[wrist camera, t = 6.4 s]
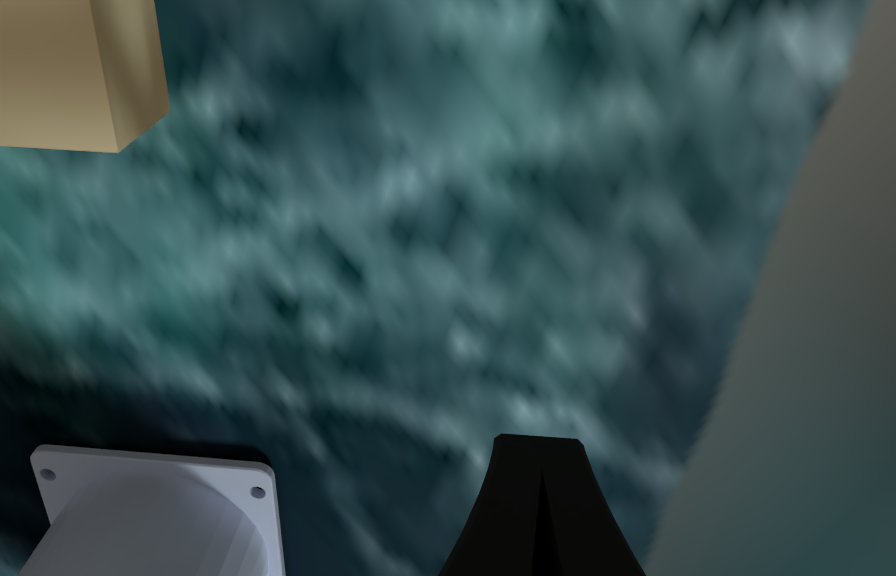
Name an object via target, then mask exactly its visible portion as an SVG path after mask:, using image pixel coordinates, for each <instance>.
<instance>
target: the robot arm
mask: <svg viewBox="0 0 896 576" xmlns="http://www.w3.org/2000/svg"><path fill="white" fill-rule="evenodd" d="M30 460H31V464H32V467H33V471H34V474H35V477H36V480H37V483H38V486H39V490H40V493H41V496H42V499H43V502H44V506H45V509H46V512H47V515H48V518H49V521H50V525H51V526H50V528H49V529H48V531H47V532H46V534H45V535H44V537H43V538H42V540H41V541H40V543H39V544H38V546H37V547H36V549H35V550H34V551H33V553H32V554H31V556H30V557H29V559H28V560H27V562H26V563H25V565H24V566H23V568H22V569H21V571H20V572H19V574H18V575H17V576H286V575H285V566H284V557H283V548H282V538H281V529H280V520H279V511H278V502H277V492H276V483H275V475H274V472H273V470H272V469H271V468H270V467H269V466H268V465H266V464H264V463H260V462H252V461H240V460H228V459H216V458H204V457H192V456H180V455H168V454H155V453H143V452H131V451H119V450H107V449H95V448H83V447H71V446H59V445H40V446H38V447H37V448H36V449H35V451H34V452H33V453H32V455H31V456H30ZM256 487H260V488H262V489H263V490H260V489H257V488H256ZM438 576H646V575H645V573H644V571H643V570H642V568H641V566H640V565H639V563H638V561H637V559H636V558H635V556H634V554H633V552H632V551H631V549H630V547H629V545H628V543H627V541H626V540H625V538H624V536H623V534H622V532H621V530H620V528H619V526H618V524H617V523H616V521H615V519H614V517H613V515H612V513H611V511H610V509H609V507H608V505H607V503H606V500H605V498H604V496H603V494H602V492H601V489H600V487H599V485H598V483H597V480H596V478H595V476H594V473H593V471H592V468H591V466H590V463H589V460H588V457H587V455H586V452H585V448H584V445H583V444H582V443H581V442H580V441H579V440H578V439H571V438H557V437H543V436H529V435H515V434H500V435H499V436H497V437H496V438H494V444H493V451H492V455H491V460H490V463H489V467H488V470H487V473H486V476H485V479H484V482H483V484H482V487H481V490H480V492H479V495H478V497H477V500H476V502H475V504H474V506H473V509H472V511H471V513H470V515H469V518H468V520H467V522H466V524H465V527H464V529H463V531H462V533H461V535H460V537H459V539H458V540H457V542H456V544H455V546H454V548H453V550H452V552H451V554H450V555H449V557H448V559H447V561H446V563H445V565H444V567H443V568H442V570H441V572H440V574H439V575H438Z"/></svg>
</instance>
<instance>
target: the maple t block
mask: <svg viewBox="0 0 896 576" xmlns="http://www.w3.org/2000/svg"><path fill="white" fill-rule="evenodd" d="M168 112H170V104H169V98H168V91H167V84H166V78H165V71H164V64H163V58H162V51H161V44H160V38H159V31H158V24H157V18H156V11H155V4H154V0H0V146H12V147H29V148H45V149H62V150H78V151H95V152H111V153H119V152H120V151H121V150H123V149H124V148H125V147H126V146H127V145H129V144H130V143H131V142H132V141H134V140H135V139H136V138H137V137H139V136H140V135H141V134H142V133H144V132H145V131H146V130H147V129H149V128H150V127H151V126H152V125H154V124H155V123H156V122H157V121H158V120H160V119H161V118H162V117H163V116H165V115H166V114H167V113H168Z"/></svg>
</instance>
